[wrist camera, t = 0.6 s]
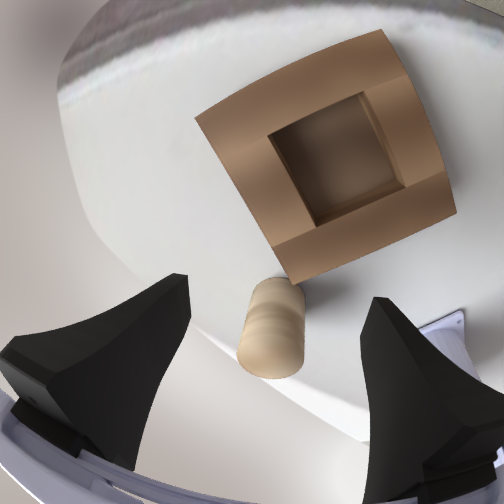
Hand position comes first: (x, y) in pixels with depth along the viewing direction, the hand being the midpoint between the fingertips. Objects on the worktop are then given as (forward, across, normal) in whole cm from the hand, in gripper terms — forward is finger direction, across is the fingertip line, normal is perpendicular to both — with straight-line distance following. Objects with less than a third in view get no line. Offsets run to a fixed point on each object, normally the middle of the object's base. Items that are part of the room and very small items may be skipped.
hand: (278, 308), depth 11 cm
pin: (+9, 0, +6) cm, 11 cm away
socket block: (+9, -2, -5) cm, 10 cm away
